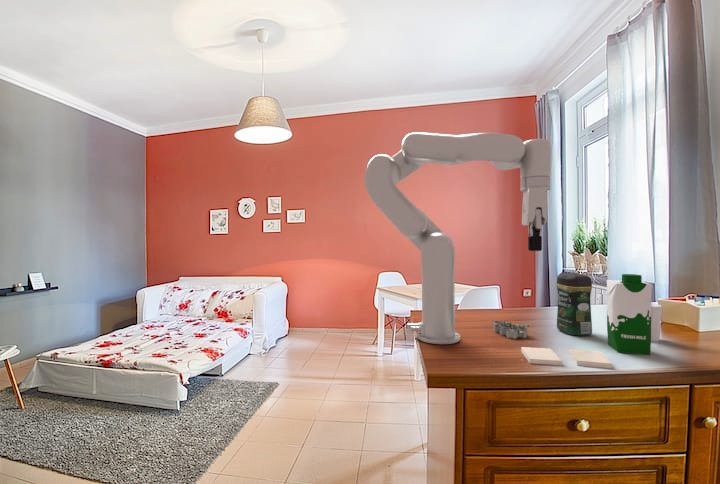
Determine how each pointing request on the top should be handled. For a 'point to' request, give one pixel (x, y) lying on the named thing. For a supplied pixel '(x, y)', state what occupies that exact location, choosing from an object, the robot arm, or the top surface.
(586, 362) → the ochre tile
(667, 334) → the top surface
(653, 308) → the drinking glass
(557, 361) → the teal tile
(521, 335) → the egg carton
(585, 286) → the coffee jar
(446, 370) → the top surface
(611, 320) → the milk carton
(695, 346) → the top surface
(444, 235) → the robot arm
